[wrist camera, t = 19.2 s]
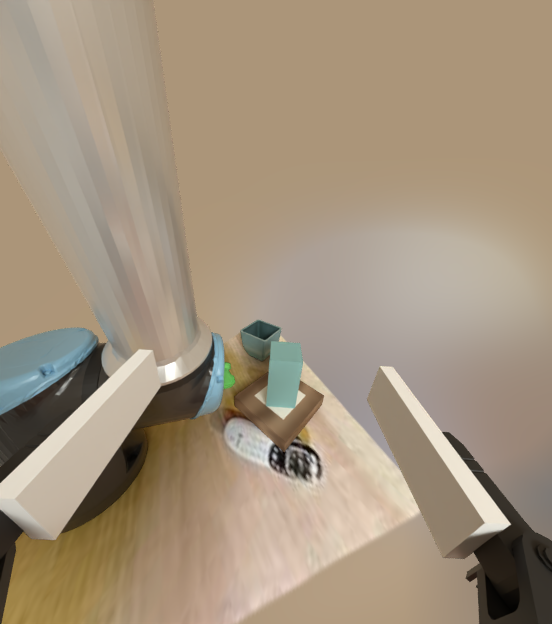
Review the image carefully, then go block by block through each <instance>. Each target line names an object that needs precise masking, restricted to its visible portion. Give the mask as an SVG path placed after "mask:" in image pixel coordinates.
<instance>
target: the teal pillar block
mask: <svg viewBox="0 0 552 624" xmlns="http://www.w3.org/2000/svg"><path fill="white" fill-rule="evenodd" d="M302 366H303V359H302V352H301V346H300V343H289V342H277V341H271V350H270V363H269V375H268V387H267V400H266V406H269V407H283V408H295V406H296V400H297V394H298V389H299V383H300V377H301V371H302Z"/></svg>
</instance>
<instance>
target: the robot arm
mask: <svg viewBox="0 0 552 624" xmlns="http://www.w3.org/2000/svg"><path fill="white" fill-rule="evenodd" d="M0 150H1V152H2V154H3V156H4V157H5V159H6V161H7V163H8V164H9V166H10V168H11V170H12V171H13V173H14V175H15V176H16V178H17V180H18V182H19V184H20V185H21V187H22V189H23V190H24V192H25V194H26V196H27V198H28V199H29V201H30V203H31V205H32V207H33V208H34V210H35V212H36V214H37V215H38V217H39V219H40V221H41V222H42V224H43V226H44V228H45V229H46V231H47V233H48V235H49V236H50V238H51V240H52V242H53V243H54V245H55V247H56V249H57V250H58V252H59V254H60V256H61V257H62V259H63V261H64V263H65V265H66V266H67V268H68V270H69V271H70V273H71V275H72V277H73V278H74V280H75V282H76V284H77V286H78V287H79V289H80V291H81V293H82V294H83V296H84V298H85V300H86V301H87V303H88V305H89V307H90V308H91V310H92V312H93V314H94V315H95V317H96V319H97V321H98V322H99V324H100V326H101V328H102V329H103V331H104V333H105V335H106V337H107V338H108V342H107V343H98V337H97V336H96V335H94V333H93V332H92V331H90V330H87V329H85V328H65V329H58V330H53V331H48V332H44V333H41V334H37V335H34V336H31V337H27V338H24V339H21V340H19V341H16V342H13V343H11V344H8V345H6V346H3V347H1V348H0V624H1V623H2V618H3V613H4V608H5V602H6V597H7V592H8V587H9V582H10V577H11V572H12V567H13V562H14V557H15V552H16V546H15V541H16V540H17V539H18V537H19V536H20V535H21V534H22V532H24V533H26V534H27V535H28V536H29V537H30V538H31V539H44V540H56V538H57V537H58V536H59V534H60V533H63V532H67V531H69V530H72V529H74V528H76V527H79V526H81V525H83V524H84V523H86V522H88V521H90V520H91V519H93V518H95V517H96V516H97V515H99V514H100V513H102V512H103V511H104V510H106V509H107V508H108V507H109V506H111V505H112V504H113V503H114V502H115V501H116V500H117V499H118V498H119V497H120V496H121V495H122V494H123V493H124V492H125V491H126V490H127V488H128V487H129V486H130V485H131V483H132V482H133V481H134V479H135V478H136V476H137V475H138V473H139V471H140V469H141V468H142V465H143V463H144V461H145V458H146V454H147V447H148V443H147V438H146V435H145V432H144V429H143V428H144V427H149V426H154V425H159V424H164V423H169V422H174V421H179V420H184V419H196V418H197V417H199V416H202V415H206V414H210V413H213V412H214V411H216V410H217V409H218V407H219V406H220V404H221V400H222V396H223V388H224V378H223V376H224V347H223V341H222V337H221V336H220V335H219V334H216V333H212V332H211V331H210V329H209V327H208V325H207V324H206V323H205V322H204V321H203V320H202V319H200V318H199V317H197V314H196V307H195V300H194V293H193V286H192V278H191V271H190V263H189V256H188V249H187V242H186V236H185V235H186V234H185V227H184V220H183V213H182V206H181V198H180V191H179V183H178V177H177V169H176V162H175V154H174V147H173V141H172V133H171V125H170V118H169V111H168V104H167V96H166V89H165V81H164V74H163V67H162V60H161V52H160V45H159V38H158V31H157V24H156V16H155V9H154V2H153V0H0ZM367 401H368V403H369V405H370V407H371V409H372V411H373V413H374V415H375V417H376V420H377V422H378V424H379V426H380V428H381V430H382V432H383V434H384V436H385V438H386V440H387V443H388V445H389V447H390V449H391V451H392V453H393V455H394V457H395V459H396V461H397V463H398V465H399V468H400V470H401V472H402V474H403V476H404V478H405V480H406V482H407V484H408V486H409V488H410V490H411V493H412V495H413V497H414V499H415V501H416V503H417V505H418V507H419V509H420V511H421V513H422V515H423V518H424V520H425V522H426V524H427V526H428V528H429V530H430V532H431V534H432V536H433V538H434V541H435V543H436V545H437V547H438V549H439V551H440V553H441V555H442V557H443V558H455V559H465V558H466V557H468V556H469V555H470V554H472V553H473V552H474V554H475V555H476V557H477V559H478V561H479V562H480V564H478V565H477V566H475V567H474V568H472V569H471V570H469V571H468V572H467V576H466V579H467V580H468V581H469V582H471V581H472V580H474V579H475V578H477V580H478V584H477V586H476V587H477V588H478V604H479V624H552V541H551V540H549V539H548V538H546V537H544V536H542V535H540V534H538V533H535V532H534V531H533V530H532V529H531V528H530V527H529V525H528V524H527V523H526V522H525V521H524V520H523V518H521V516H520V515H519V514H518V512H517V511H516V510H515V509H514V507H513V506H512V505H511V504H510V502H509V501H508V500H507V499H506V497H505V496H504V495H503V494H502V493H501V491H500V490H499V489H498V487H497V486H496V485H495V484H494V482H493V481H492V480H491V479H490V478H489V476H488V475H487V474H486V473H484V470H483V469H482V468H481V466H480V465H479V464H478V463H477V461H475V460H474V458H473V456H472V455H471V454H470V453H469V451H468V450H467V449H466V448H465V446H464V445H463V444H462V443H461V442H459V441H458V440H457V439H456V438H455V437H454V436H453V435H451V434H450V433H449V432H441V431H440V430H439V428H438V427H437V425H436V424H435V423H434V421H433V420H432V419H431V417H430V416H429V415H428V413H427V412H426V411H425V409H424V408H423V407H422V405H421V404H420V403H419V401H418V400H417V399H416V397H415V396H414V395H413V393H412V392H411V391H410V389H409V388H408V387H407V385H406V384H405V383H404V381H403V380H402V379H401V378H400V376H399V375H398V374H397V372H396V371H395V369H394V368H393V367H383V366H380V367H379V370H378V372H377V375H376V377H375V380H374V382H373V385H372V388H371V390H370V393H369V395H368V398H367Z"/></svg>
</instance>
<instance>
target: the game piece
mask: <svg viewBox="0 0 552 624" xmlns="http://www.w3.org/2000/svg"><path fill="white" fill-rule="evenodd" d="M230 369H231V366H230V363H227V362H225V363H224V376H223V378H224V389H225V388H230V387H232V386H233V384H234V383H235V379H234V376H233V375H231V373H230V372H229V370H230Z"/></svg>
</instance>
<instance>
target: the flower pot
mask: <svg viewBox="0 0 552 624" xmlns="http://www.w3.org/2000/svg"><path fill="white" fill-rule="evenodd" d="M240 332H241V338H242V343H243V347H244V349H245V350H246V352H247V353H248V354H249V355H250V356H252V357H254V358H257V359H259V360H261V361H263V360H265V359H266V358H267V357H268V356H269V355H270V350H271V341H277V342H278V341H279V337H280V333H281V328H280V327H278V326H275V325H272V324H269V323H266V322H264V321H261V320H256V321H255V322H253V323H252V324H250V325H249V326H247V327H245V328H243V329H242V330H241V331H240Z"/></svg>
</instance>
